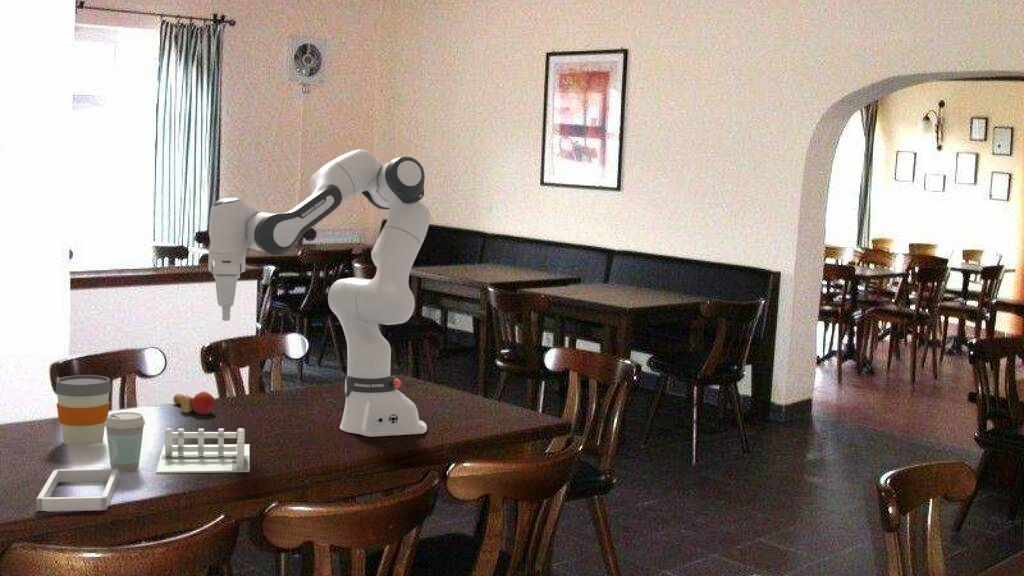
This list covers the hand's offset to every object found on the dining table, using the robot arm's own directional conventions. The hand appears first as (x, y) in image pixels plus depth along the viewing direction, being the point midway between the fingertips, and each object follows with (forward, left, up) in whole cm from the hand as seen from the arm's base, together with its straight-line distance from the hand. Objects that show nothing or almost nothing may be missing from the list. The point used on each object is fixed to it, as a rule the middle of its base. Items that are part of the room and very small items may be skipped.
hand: (226, 320), depth 300 cm
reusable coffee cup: (+33, +4, -29) cm, 44 cm away
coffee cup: (+21, +30, -29) cm, 47 cm away
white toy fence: (+4, +22, -28) cm, 36 cm away
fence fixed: (-4, +29, -29) cm, 41 cm away
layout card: (+4, +22, -29) cm, 37 cm away
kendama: (+9, -30, -30) cm, 43 cm away
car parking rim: (+28, +50, -29) cm, 64 cm away
